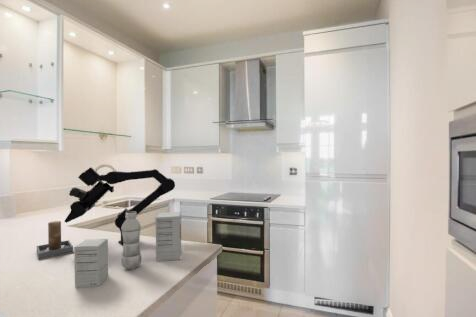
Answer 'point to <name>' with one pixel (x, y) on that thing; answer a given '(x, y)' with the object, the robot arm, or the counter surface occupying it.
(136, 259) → the plastic bottle
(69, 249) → the tray
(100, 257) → the supplement box
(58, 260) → the counter surface
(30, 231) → the counter surface
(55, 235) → the scraper handle
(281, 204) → the counter surface
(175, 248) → the supplement box
